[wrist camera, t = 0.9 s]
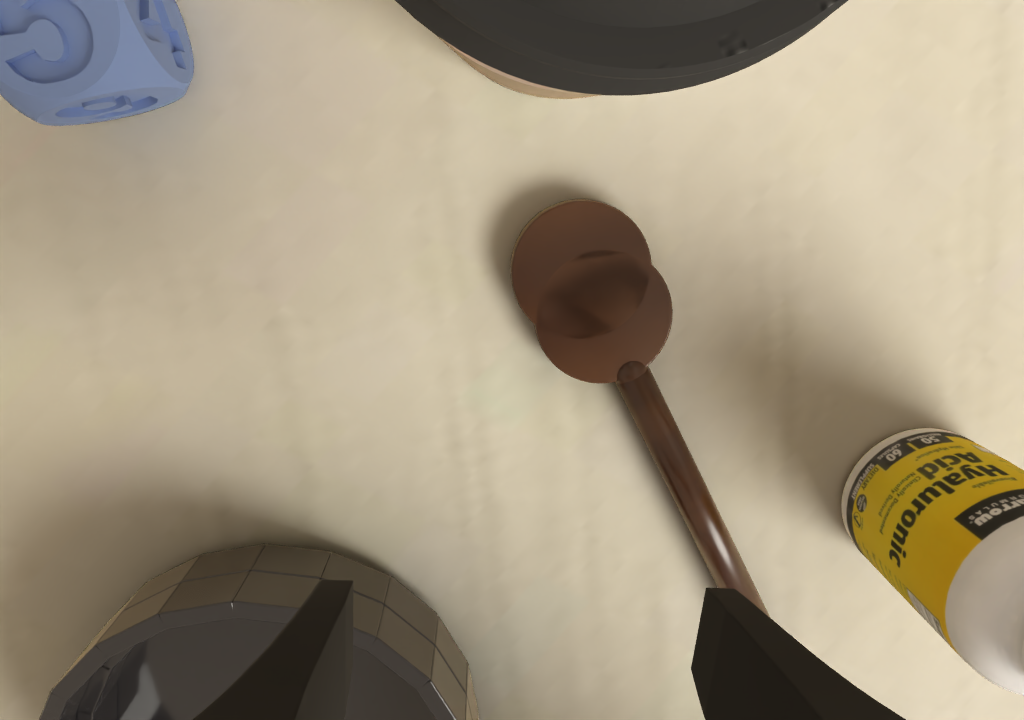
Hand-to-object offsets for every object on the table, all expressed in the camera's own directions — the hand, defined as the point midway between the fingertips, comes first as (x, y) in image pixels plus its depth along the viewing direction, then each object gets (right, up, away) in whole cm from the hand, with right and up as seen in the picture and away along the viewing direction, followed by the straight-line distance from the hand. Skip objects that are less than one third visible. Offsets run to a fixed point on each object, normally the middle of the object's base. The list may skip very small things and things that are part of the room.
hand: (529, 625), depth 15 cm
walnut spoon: (+5, +2, +10) cm, 12 cm away
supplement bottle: (+14, +1, +11) cm, 18 cm away
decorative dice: (-12, +15, +7) cm, 20 cm away
